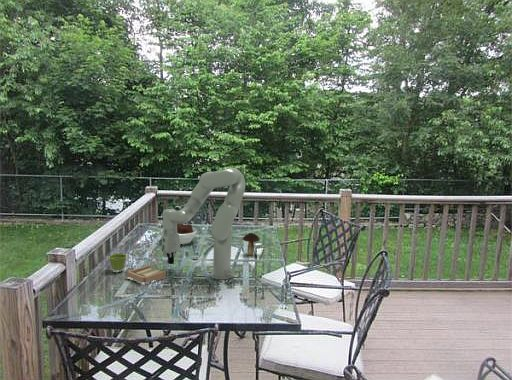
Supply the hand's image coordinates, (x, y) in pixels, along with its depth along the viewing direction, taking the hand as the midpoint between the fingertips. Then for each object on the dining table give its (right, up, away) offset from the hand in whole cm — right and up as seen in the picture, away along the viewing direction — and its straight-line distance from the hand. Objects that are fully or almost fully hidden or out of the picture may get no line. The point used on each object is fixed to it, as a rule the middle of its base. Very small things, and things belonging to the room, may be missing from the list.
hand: (171, 263), depth 228 cm
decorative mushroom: (+44, -2, +38) cm, 58 cm away
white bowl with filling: (-7, +3, +60) cm, 60 cm away
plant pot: (-29, -4, -3) cm, 29 cm away
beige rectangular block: (-10, -6, -12) cm, 16 cm away
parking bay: (-10, -6, -11) cm, 17 cm away
